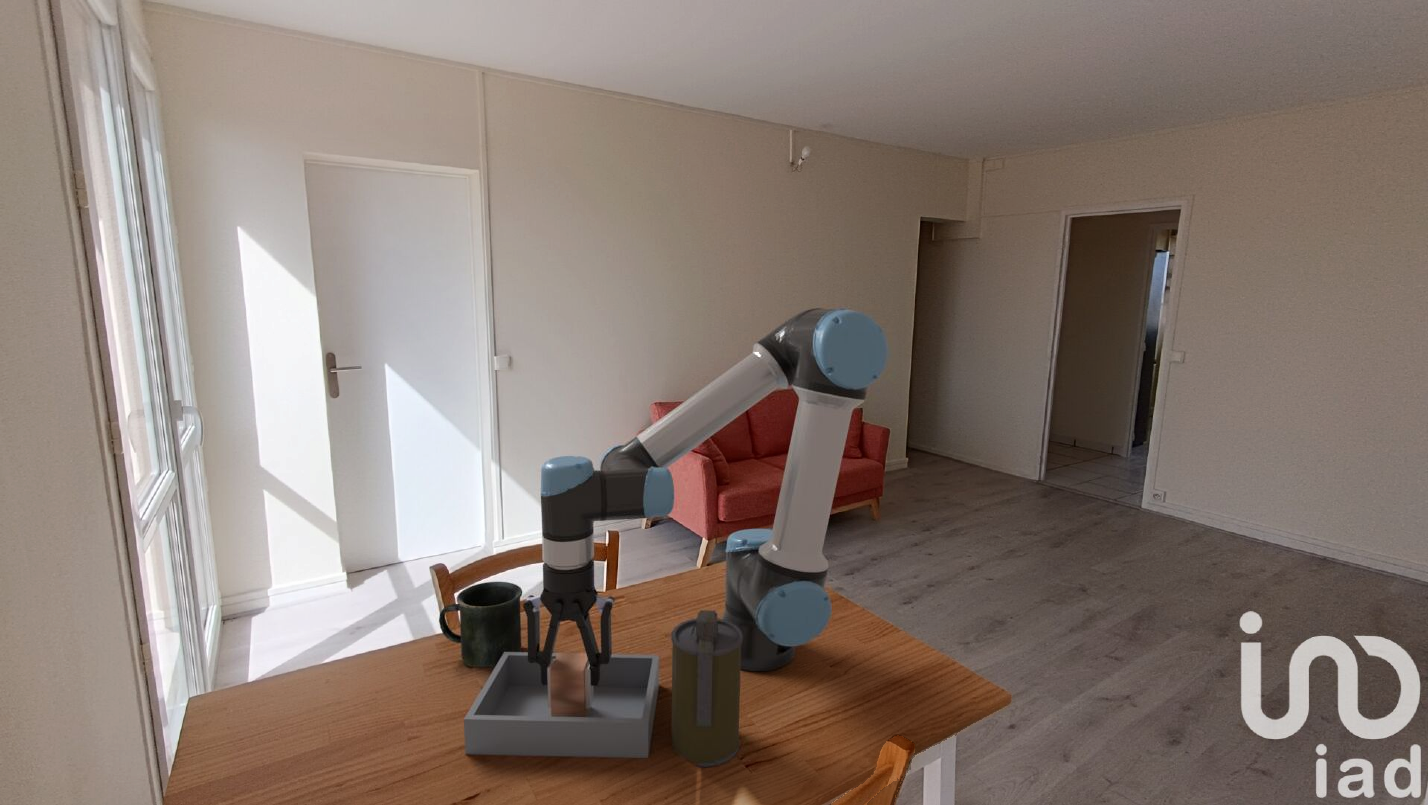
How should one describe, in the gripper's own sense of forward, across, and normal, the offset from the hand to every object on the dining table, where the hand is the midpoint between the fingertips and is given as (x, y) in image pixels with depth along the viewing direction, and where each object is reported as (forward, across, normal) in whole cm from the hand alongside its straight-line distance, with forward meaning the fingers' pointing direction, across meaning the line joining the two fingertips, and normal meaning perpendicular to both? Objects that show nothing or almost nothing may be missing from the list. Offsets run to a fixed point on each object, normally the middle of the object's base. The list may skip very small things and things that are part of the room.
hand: (571, 702), depth 102 cm
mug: (+3, +20, -18) cm, 27 cm away
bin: (+3, 0, 0) cm, 3 cm away
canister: (+3, -21, +5) cm, 22 cm away
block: (+2, 0, 0) cm, 2 cm away
